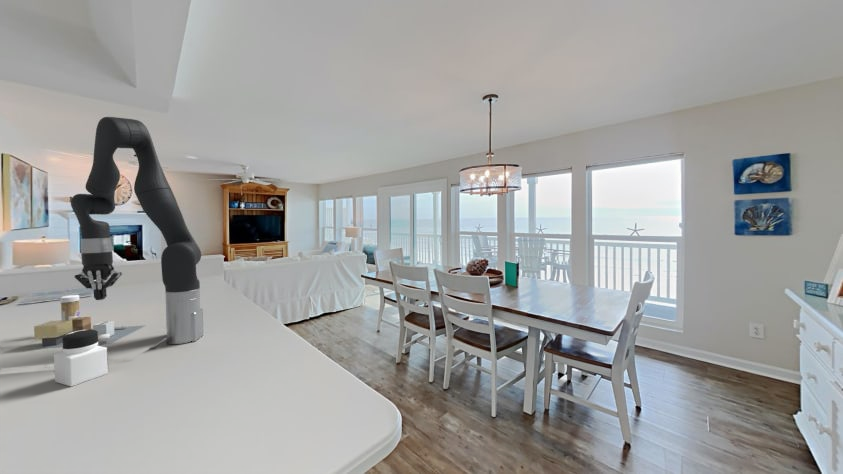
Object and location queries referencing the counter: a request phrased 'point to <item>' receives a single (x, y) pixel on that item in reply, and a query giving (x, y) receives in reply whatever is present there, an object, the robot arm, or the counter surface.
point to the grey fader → (104, 328)
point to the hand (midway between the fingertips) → (100, 299)
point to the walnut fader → (81, 323)
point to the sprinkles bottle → (70, 307)
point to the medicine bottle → (80, 358)
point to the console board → (112, 338)
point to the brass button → (53, 329)
